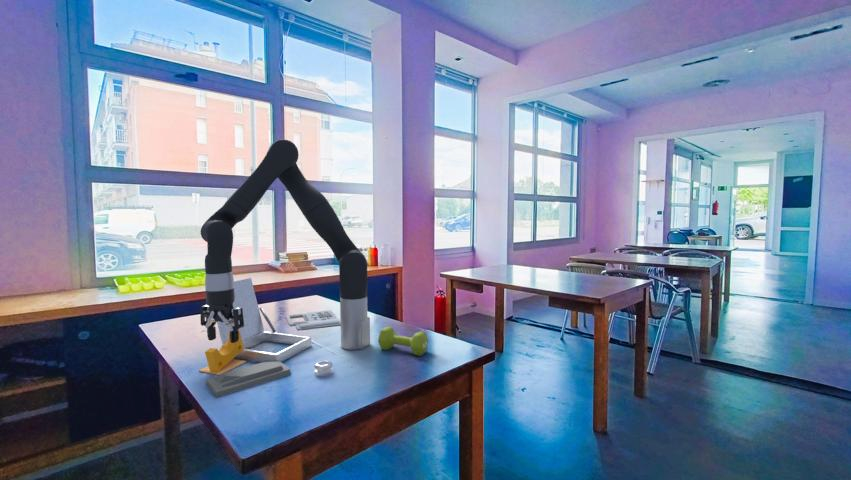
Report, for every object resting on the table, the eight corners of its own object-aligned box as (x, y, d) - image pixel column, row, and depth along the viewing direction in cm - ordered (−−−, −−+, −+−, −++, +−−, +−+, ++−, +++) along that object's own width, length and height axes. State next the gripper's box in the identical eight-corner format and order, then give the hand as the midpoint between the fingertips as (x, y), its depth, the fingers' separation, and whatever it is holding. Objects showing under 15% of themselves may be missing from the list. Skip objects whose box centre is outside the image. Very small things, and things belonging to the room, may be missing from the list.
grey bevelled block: (204, 386, 107) (204, 374, 106) (277, 366, 120) (276, 355, 120) (216, 399, 99) (216, 386, 99) (292, 376, 113) (291, 364, 113)
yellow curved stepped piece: (231, 348, 126) (227, 330, 124) (243, 348, 125) (239, 330, 123) (204, 371, 114) (199, 351, 113) (217, 371, 114) (212, 352, 112)
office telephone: (342, 320, 161) (291, 326, 152) (342, 326, 161) (291, 333, 153) (331, 307, 182) (285, 311, 173) (331, 312, 182) (285, 317, 174)
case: (313, 344, 138) (313, 336, 138) (276, 364, 120) (276, 355, 120) (267, 338, 145) (267, 330, 144) (226, 356, 127) (225, 347, 126)
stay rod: (277, 334, 143) (276, 308, 142) (275, 335, 142) (275, 309, 141) (261, 332, 145) (260, 306, 145) (259, 333, 145) (258, 307, 144)
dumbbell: (430, 351, 132) (430, 330, 131) (419, 359, 125) (419, 337, 124) (388, 343, 139) (388, 323, 138) (376, 351, 132) (375, 330, 131)
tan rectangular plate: (246, 362, 122) (246, 361, 122) (219, 375, 112) (219, 373, 112) (226, 359, 124) (226, 357, 124) (198, 371, 115) (198, 370, 115)
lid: (251, 277, 143) (248, 278, 144) (210, 286, 127) (207, 287, 127) (264, 331, 143) (261, 331, 144) (224, 347, 127) (221, 347, 127)
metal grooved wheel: (336, 372, 115) (325, 368, 118) (335, 362, 114) (325, 358, 117) (321, 378, 111) (311, 373, 114) (321, 367, 110) (311, 363, 114)
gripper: (248, 286, 117) (251, 339, 119) (212, 284, 122) (215, 334, 123) (228, 291, 110) (231, 347, 112) (190, 288, 115) (194, 342, 116)
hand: (223, 340), depth 117 cm, fingers open, 8 cm apart
